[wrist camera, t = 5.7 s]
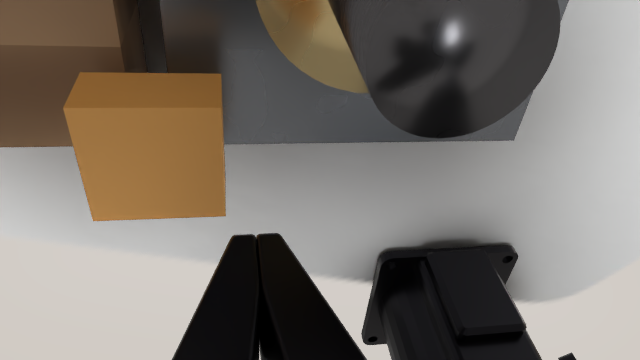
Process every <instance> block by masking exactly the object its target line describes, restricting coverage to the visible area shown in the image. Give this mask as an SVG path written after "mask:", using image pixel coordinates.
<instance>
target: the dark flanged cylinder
mask: <svg viewBox="0 0 640 360" xmlns="http://www.w3.org/2000/svg"><path fill="white" fill-rule="evenodd" d="M256 4H257V7H258V10H259V13H260V16H261V19H262V21H263V23H264V25H265V27H266V29H267V31H268V33H269V35H270V37H271V38H272V40H273V41H274V43H275V44H276V46H277V47H278V48H279V50H280V51H281V52H282V53H283V54H284V55H285V56H286V58H287V59H288V60H289V61H290V62H292V63H293V64H294V65H295V66H296V67H297V68H298V69H300V70H301V71H302V72H304V73H305V74H307V75H308V76H310V77H312V78H313V79H315V80H317V81H319V82H321V83H323V84H325V85H328V86H331V87H334V88H337V89H340V90H345V91H350V92H355V93H370V95H371V98H372V100H373V101H374V103H375V105H376V107H377V109H378V110H379V111H380V112H381V114H382V115H383V116H384V117H385V118H386V119H387V120H388V121H389V122H390V123H392V124H393V125H395V126H396V127H398V128H399V129H401V130H403V131H405V132H407V133H410V134H413V135H416V136H420V137H426V138H452V137H458V136H463V135H466V134H470V133H473V132H476V131H478V130H481V129H483V128H486V127H487V126H489V125H491V124H493V123H495V122H497V121H498V120H500V119H502V118H503V117H505V116H506V115H508V114H509V113H510V112H511V111H513V110H514V109H515V108H517V107H518V106H519V105H520V104H521V103H522V102H523V101H524V100H525V99H526V98H527V97H528V96H529V95H530V94H531V92H532V91H533V90H534V89H535V87H536V86H537V85H538V83H539V82H540V81H541V79H542V78H543V76H544V74H545V73H546V71H547V69H548V67H549V65H550V63H551V61H552V59H553V56H554V53H555V50H556V47H557V43H558V38H559V33H560V9H559V4H558V0H256Z"/></svg>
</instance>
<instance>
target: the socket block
mask: <svg viewBox="0 0 640 360" xmlns="http://www.w3.org/2000/svg"><path fill="white" fill-rule="evenodd" d="M159 1H160V10H161V18H162V27H163V36H164V45H165V54H166V63H167V72H168V73H203V74H221V80H222V106H223V131H224V144H280V143H354V142H429V141H504V140H514V139H515V136H516V134H517V131H518V129H519V126H520V124H521V121H522V118H523V116H524V113H525V111H526V108H527V106H528V103H529V101H530V98H531V95H532V93H533V91H532V92H531V94H530V95H529V96H528V97H527V98H526V99H525V100H524V101H523V102H522V103H521V104H520V105H519V106H518V107H517V108H515V109H514V110H513V111H511V112H510V113H509V114H508V115H506V116H505V117H503V118H502V119H500V120H498V121H497V122H495V123H493V124H491V125H489V126H487V127H486V128H483V129H481V130H478V131H476V132H473V133H470V134H466V135H463V136H458V137H452V138H426V137H420V136H416V135H413V134H410V133H407V132H405V131H403V130H401V129H399V128H398V127H396V126H395V125H393V124H392V123H390V122H389V121H388V120H387V119H386V118H385V117H384V116H383V115H382V114H381V112H380V111H379V110H378V109H377V107H376V105H375V103H374V101H373V100H372V98H371V95H370V93H355V92H350V91H345V90H340V89H337V88H334V87H331V86H328V85H325V84H323V83H321V82H319V81H317V80H315V79H313V78H312V77H310V76H308V75H307V74H305V73H304V72H302V71H301V70H300V69H298V68H297V67H296V66H295V65H294V64H293V63H292V62H290V61H289V60H288V59H287V58H286V56H285V55H284V54H283V53H282V52H281V51H280V50H279V48H278V47H277V46H276V44H275V43H274V41H273V40H272V38H271V37H270V35H269V33H268V31H267V29H266V27H265V25H264V23H263V21H262V19H261V16H260V13H259V10H258V7H257V4H256V0H159ZM568 1H569V0H558V4H559V9H560V21H561V19H562V16H563V14H564V11H565V9H566V6H567V4H568Z"/></svg>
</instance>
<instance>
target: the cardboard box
mask: <svg viewBox="0 0 640 360" xmlns="http://www.w3.org/2000/svg"><path fill="white" fill-rule="evenodd" d="M63 110H64V113H65V117H66V121H67V125H68V128H69V132H70V136H71V140H72V143H73V147H74V151H75V155H76V158H77V162H78V166H79V170H80V174H81V177H82V181H83V185H84V189H85V192H86V196H87V200H88V204H89V207H90V211H91V215H92V219H93V221H109V220H136V219H163V218H190V217H217V216H226V209H225V156H224V131H223V106H222V80H221V74H203V73H101V72H80V73H79V76H78V78H77V80H76V82H75V84H74V86H73V88H72V90H71V92H70V94H69V97H68V99H67V101H66V103H65V105H64V107H63Z"/></svg>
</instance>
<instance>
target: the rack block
mask: <svg viewBox="0 0 640 360" xmlns="http://www.w3.org/2000/svg"><path fill="white" fill-rule="evenodd" d="M80 72H101V73H147V68H146V60H145V53H144V46H143V39H142V32H141V25H140V17H139V10H138V3H137V0H0V147H56V146H73V143H72V140H71V136H70V132H69V128H68V125H67V121H66V117H65V113H64V110H63V107H64V105H65V103H66V101H67V99H68V97H69V94H70V92H71V90H72V88H73V86H74V84H75V82H76V80H77V78H78V76H79V73H80Z"/></svg>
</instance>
